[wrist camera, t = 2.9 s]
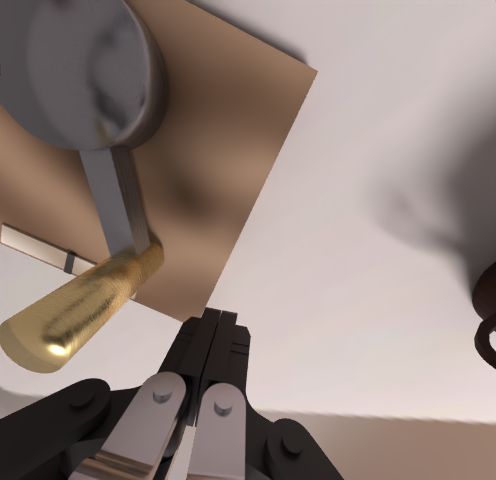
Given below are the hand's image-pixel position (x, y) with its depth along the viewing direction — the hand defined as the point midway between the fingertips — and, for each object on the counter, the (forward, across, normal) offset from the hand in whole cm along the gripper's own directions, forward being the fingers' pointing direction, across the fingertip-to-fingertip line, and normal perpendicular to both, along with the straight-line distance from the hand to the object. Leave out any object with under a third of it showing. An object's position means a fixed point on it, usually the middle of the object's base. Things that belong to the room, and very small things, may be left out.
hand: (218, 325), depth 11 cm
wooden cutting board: (+7, +10, -6) cm, 13 cm away
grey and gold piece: (+5, +8, -6) cm, 11 cm away
